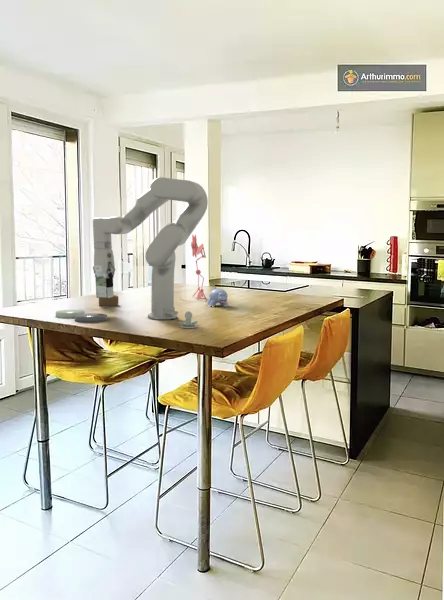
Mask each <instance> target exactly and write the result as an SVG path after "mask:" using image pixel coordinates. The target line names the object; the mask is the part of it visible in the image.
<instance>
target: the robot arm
mask: <svg viewBox="0 0 444 600" xmlns="http://www.w3.org/2000/svg"><path fill="white" fill-rule="evenodd" d="M169 201H175V202H176V201H178V202H183V203H186V206H185V207H184V208H183V209H182V211H181V212H180V213H179V215H178V216H177V217H176V218H175V220H174V221H173V222H171V223H167V224H165V225H164V226H163V227H162V228H161V229H160V231H158V233H157V235H156V236H155V238H154V239H153V240H152V242H151V243H150V245H148V248H146V251H145V261H146V263H147V264H148V265H149V266H150V267H152V269H151V296H150V297H151V300H150V301H151V307H150V308H151V310H150V311H151V313H148V314H147V318H148V319H152V320H160V321H161V320H174V319H177V318H178V314H179V312H178V311H176V310H175V309H176V308H175V306H174V305H175V304H174V303H175V299H174V298H175V294H174V293H175V266H176V258H177V257H176V252H175V251H176V249H177V248H178V247H180V246H182V245H184V244H185V243H186V242H187V241H188V239H189V238H190V236H191V235H192V233H193V232H194V230H195V229H196V228H197V225H198V224H199V223H200V221H201V220H202V219H203V218H204V215H205V213H206V211H207V209H208V206H209V205H208V203H209V201H208V196H207V193H206V190H205V188H204V187H203V186H202V185H201V184H199V183H198V182H195V181H191V180H187V179H178V178H170V177H169V178H168V177H163V176H159V177H156V178H154V179H153V180H152V181H151V184H150V187H149V189H147V190H146V191H144V192H143V193H142V194H140V195H139V196H138V197H137V199H136V202H135V205H134V207H132V208H131V209H130V210H129V211H128V212H127V213H125V214H123V216H118V215H117V216H116V215H115V216H110V217H102V216H100V217H99V216H98V217H93V219H92V229H93V230H92V232H93V250H94V252H93V266H92V270H93V273H94V275H95V265H100V266H101V267H102V271H103V272H104V273H105V274H106V277H107V278H106V287H107V288H109V287H113V288H114V275H115V271H116V268H115V264H116V263H115V257H114V251H113V249H112V248H113V247H112V244H113V243H112V235H127V234H129V233H130V232H132V231H133V230H134V229H136V228H137V227H139V226H140V225H141V224H142V223H144V221H146V220H147V219H148V217H149V216H150V215H151V214H152V213H154V212H155V211H157V210H158V209H159V208H160V207H162V206H163V205H164V204H166V203H167V202H169ZM108 266H109V267H108ZM107 269H108V270H109V271H107ZM108 273H109V275H108Z"/></svg>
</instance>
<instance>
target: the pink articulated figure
mask: <svg viewBox="0 0 444 600" xmlns="http://www.w3.org/2000/svg"><path fill="white" fill-rule="evenodd" d="M191 235H192V238H191V239H192V241H191V242H190V247H191V250H192V251H191V253H192V254H191V255H192V257H194V258H197V256H198V255H200V254H201V256H200V257H199V258H197V259H196V260H195V265H196V270H195V274H196V275H197V276H198V278H197V279H198V280H197V290H195V292H194V293H193V295H192V298H194V296H196V294H197V298H196V299H197V301H199V300H200V299H201V298H203V297H204V299H205V301H208V300H207V297H206V295H205V293H204V289H203V285H204V279H205V277H203V275H201V273H202V272H201V270H200V269H199V268H198V261H199V260H200V259H206V258H207V257H206V251H205V247H204V244H203V243H201V244H200V245H199V246H198V243H197V242H198V241H197V236H196V235H197V234H191ZM200 277H201V278H202V283H201V286H199V285H200ZM179 300H181V301H183V302H184V301H185V302H186V300H184V299H181V298H179Z"/></svg>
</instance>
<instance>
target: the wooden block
mask: <svg viewBox="0 0 444 600" xmlns="http://www.w3.org/2000/svg"><path fill="white" fill-rule="evenodd" d="M98 305H99V306H100V307H118V306H119V296H118V295H117V294H114V297H111V298H98Z"/></svg>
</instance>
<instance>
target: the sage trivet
mask: <svg viewBox="0 0 444 600" xmlns="http://www.w3.org/2000/svg"><path fill="white" fill-rule="evenodd" d="M78 314H85V310H83V309H82V310H80V309H62V310H56V311H55V317H56V318H61V319H75V315H78Z"/></svg>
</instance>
